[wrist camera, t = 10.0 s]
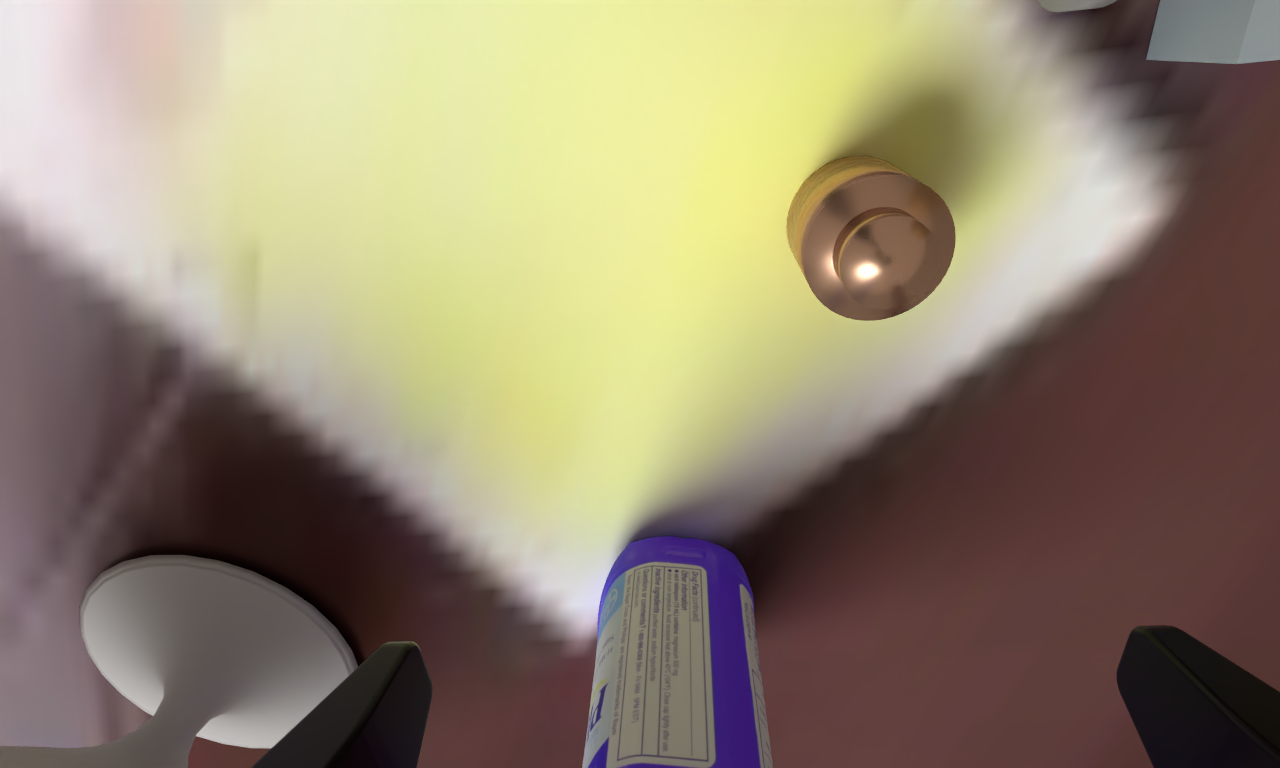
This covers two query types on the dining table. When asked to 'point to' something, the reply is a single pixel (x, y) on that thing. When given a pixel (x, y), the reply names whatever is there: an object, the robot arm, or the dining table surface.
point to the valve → (1205, 29)
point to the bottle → (677, 662)
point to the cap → (869, 238)
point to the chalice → (199, 660)
